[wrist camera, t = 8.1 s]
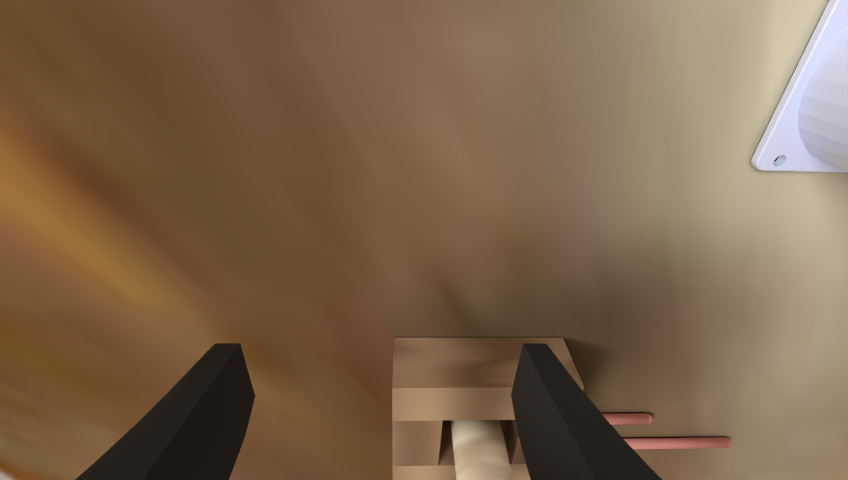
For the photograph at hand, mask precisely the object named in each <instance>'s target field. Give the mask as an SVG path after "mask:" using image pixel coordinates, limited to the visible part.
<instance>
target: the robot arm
mask: <svg viewBox="0 0 848 480" xmlns="http://www.w3.org/2000/svg"><path fill="white" fill-rule="evenodd" d="M778 156H779V158H778V159H777V161H775V162H774V160H775V159H776V158H777V157H778ZM751 162H752V165H753V166H754V167H755V168H757V169H758V170H762V171H796V172H841V173H848V0H829V2H828V4H827V6H826V8H825V10H824V12H823V15H822V17H821V19H820V21H819V23H818V25H817V27H816V29H815V31H814V33H813V35H812V37H811V39H810V41H809V43H808V45H807V47H806V49H805V51H804V53H803V55H802V57H801V59H800V61H799V64H798V66H797V68H796V70H795V72H794V74H793V76H792V78H791V80H790V82H789V84H788V86H787V88H786V90H785V92H784V94H783V96H782V98H781V100H780V102H779V104H778V106H777V108H776V110H775V113H774V115H773V117H772V119H771V121H770V123H769V125H768V127H767V129H766V131H765V133H764V135H763V137H762V139H761V141H760V143H759V145H758V147H757V149H756V151H755V153H754V155H753V157H752V161H751ZM254 398H255V394H254V391H253V387H252V384H251V380H250V377H249V373H248V370H247V366H246V363H245V359H244V356H243V352H242V348H241V345H240V344H214V345H213V346H212V347H211V348H210V349H209V350H208V351H207V352H206V353H205V354H204V355H203V356H202V357H201V359H200V360H199V361H198V362H197V363H196V364H195V365H194V366H193V367H192V368H191V369H190V370H189V371H188V372H187V373H186V374H185V375H184V376H183V377H182V378H181V379H180V380H179V381H178V382H177V384H176V385H175V386H174V387H173V388H172V389H171V390H170V391H169V392H168V393H167V394H166V395H165V396H164V397H163V398H162V399H161V400H160V401H159V402H158V403H157V404H156V405H155V406H154V407H153V408H152V409H151V410H150V411H149V412H148V413H147V414H146V415H145V416H144V417H143V418H142V419H141V420H140V421H139V422H138V423H137V424H136V425H135V426H134V427H133V428H131V429H130V430H129V431H128V432H127V433H126V434H125V435H124V436H123V437H122V438H121V439H120V440H119V441H117V442H116V443H115V444H114V445H113V446H112V447H111V448H110V449H109V450H108V451H107V452H106V453H105V454H103V455H102V456H101V457H100V458H99V459H98V460H97V461H96V462H95V463H94V464H92V465H91V466H90V467H89V468H88V469H87V470H86V471H85V472H83V473H82V474H81V475H80V476H79V477H78V478H76V479H75V480H229V478H230V475H231V472H232V470H233V467H234V464H235V462H236V459H237V456H238V454H239V451H240V448H241V446H242V443H243V440H244V437H245V434H246V430H247V426H248V423H249V419H250V415H251V411H252V406H253V402H254ZM511 398H512V404H513V410H514V416H515V422H516V427H517V433H518V437H519V440H520V444H521V448H522V451H523V455H524V458H525V462H526V465H527V469H528V472H529V476H530V479H531V480H662V479H661V478H660V477H659V476H658V475H657V474H656V473H655V472H654V471H653V470H652V469H651V468H650V467H649V466H648V465H647V464H646V463H645V462H644V461H643V460H642V458H641V457H640V456H639V455H638V454H637V453H636V452H635V451H634V450H633V449H632V448H631V447H630V445H629V444H628V443H627V442H626V441H625V440H624V439H623V438H622V437H621V436H620V434H619V433H618V432H617V431H616V430H615V429H614V428H613V426H612V425H611V424H610V423H609V422H608V421H607V419H606V418H605V417H604V416H603V415H602V413H601V412H600V411H599V410H598V409H597V407H596V406H595V405H594V404H593V403H592V401H591V400H590V399H589V398H588V396H587V395H586V394H585V393H584V392H583V390H582V389H581V388H580V386H579V385H578V384H577V383H576V381H575V380H574V379H573V377H572V376H571V375H570V374H569V372H568V371H567V370H566V368H565V367H564V366H563V364H562V363H561V362H560V360H559V359H558V358H557V356H556V355H555V354H554V352H553V351H552V350H551V348H550V347H549V346H548V345H547V344H546V343H523V345H522V349H521V354H520V358H519V362H518V366H517V371H516V375H515V379H514V383H513V388H512V392H511Z"/></svg>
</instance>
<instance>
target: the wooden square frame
mask: <svg viewBox="0 0 848 480" xmlns="http://www.w3.org/2000/svg"><path fill="white" fill-rule="evenodd" d="M523 343H546V344H547V345H548V346H549V347H550V348H551V350H552V351H553V352H554V354H555V355H556V356H557V358H558V359H559V360H560V362H561V363H562V364H563V366H564V367H565V368H566V370H567V371H568V372H569V374H570V375H571V376H572V377H573V379H574V380H575V381H576V383H577V384H578V385H579V386H580V388H581V389H582V390H583V389H584V385H583V383H582V381H581V378H580V376H579V374H578V372H577V369H576V367H575V365H574V362H573V360H572V358H571V356H570V353H569V351H568V349H567V346H566V344H565V342H564V339H563V338H394V353H393V383H392V427H393V480H456V471H455V461H454V451H453V441H452V431H451V421H450V420H500V422H501V427H502V431H503V436H504V441H505V445H506V450H507V455H508V459H509V464H510V469H511V474H512V478H513V480H531V479H530V476H529V472H528V469H527V465H526V462H525V458H524V455H523V451H522V448H521V444H520V440H519V437H518V433H517V427H516V422H515V416H514V410H513V404H512V398H511V392H512V388H513V383H514V379H515V375H516V371H517V366H518V362H519V358H520V354H521V349H522V345H523Z"/></svg>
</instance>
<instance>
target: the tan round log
mask: <svg viewBox="0 0 848 480" xmlns="http://www.w3.org/2000/svg"><path fill="white" fill-rule="evenodd" d="M450 421H451V431H452V441H453V451H454V461H455V471H456V480H513V478H512V474H511V469H510V464H509V459H508V455H507V450H506V445H505V441H504V436H503V431H502V427H501V422H500V420H450Z"/></svg>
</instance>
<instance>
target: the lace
mask: <svg viewBox="0 0 848 480" xmlns="http://www.w3.org/2000/svg"><path fill="white" fill-rule="evenodd" d="M602 415H603V416H604V417H605V418H606V419H607V421H608V422H609V423H610V424H611V425H633V424H651V423H652V417H651V415H649V414H647V413H631V414H602ZM624 440H625V441H626V442H627V443H628V444H629V445H630V447H631V448H632V449H682V448H728V447H730V446H731V442H730V440H729V439H727V438H725V437H712V438H634V439H624Z"/></svg>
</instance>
